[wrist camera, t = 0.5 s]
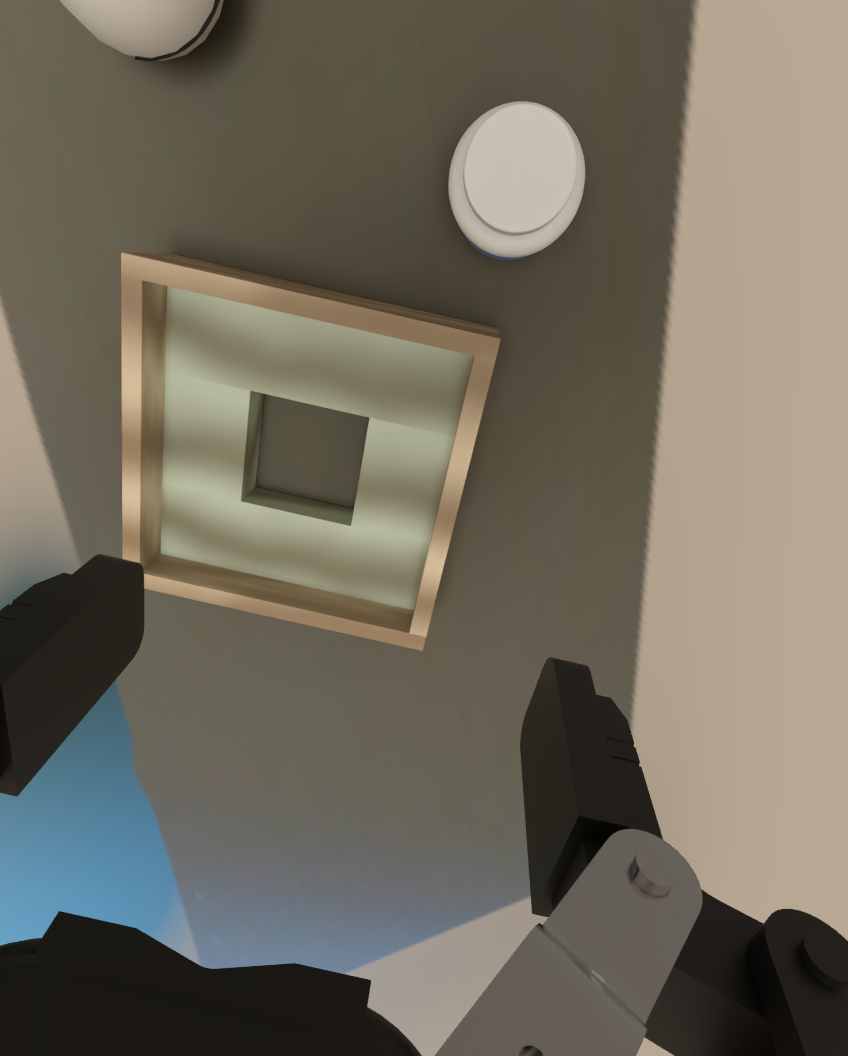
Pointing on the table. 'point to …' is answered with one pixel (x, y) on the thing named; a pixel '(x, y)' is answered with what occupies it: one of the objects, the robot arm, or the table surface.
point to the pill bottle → (516, 180)
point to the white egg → (148, 24)
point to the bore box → (234, 437)
